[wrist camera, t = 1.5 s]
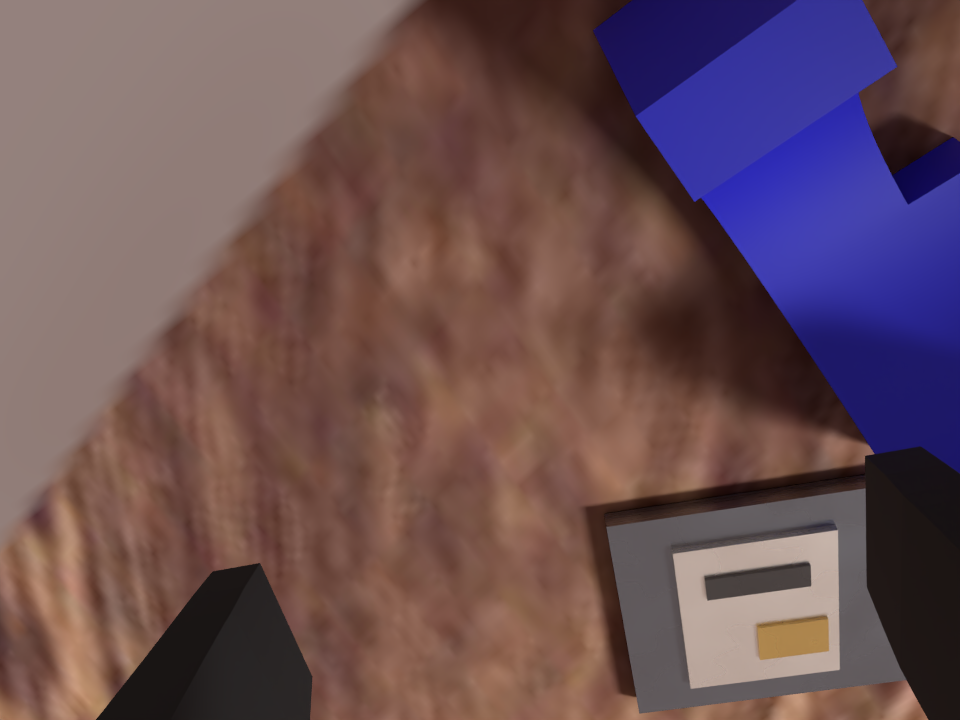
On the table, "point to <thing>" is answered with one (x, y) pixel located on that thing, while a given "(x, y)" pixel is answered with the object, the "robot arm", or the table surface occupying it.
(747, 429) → the table surface
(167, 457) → the table surface
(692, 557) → the label board
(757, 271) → the cable clip
